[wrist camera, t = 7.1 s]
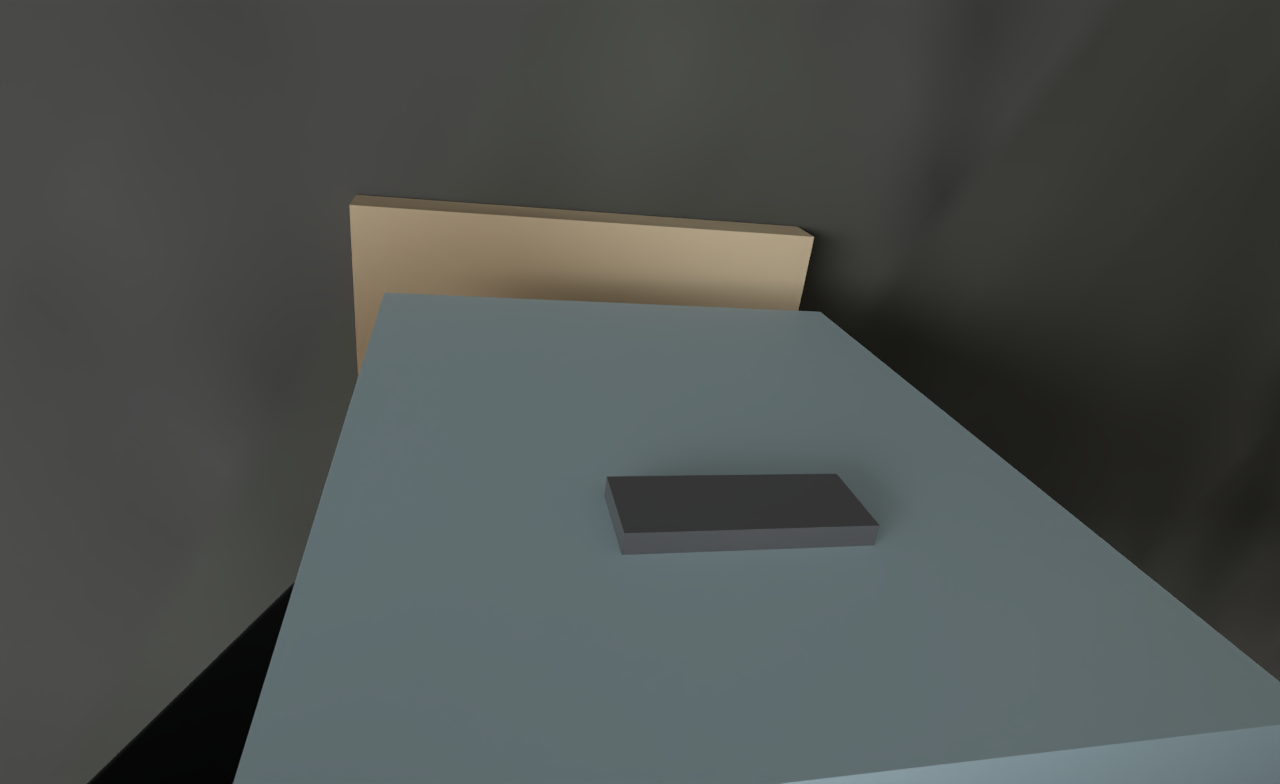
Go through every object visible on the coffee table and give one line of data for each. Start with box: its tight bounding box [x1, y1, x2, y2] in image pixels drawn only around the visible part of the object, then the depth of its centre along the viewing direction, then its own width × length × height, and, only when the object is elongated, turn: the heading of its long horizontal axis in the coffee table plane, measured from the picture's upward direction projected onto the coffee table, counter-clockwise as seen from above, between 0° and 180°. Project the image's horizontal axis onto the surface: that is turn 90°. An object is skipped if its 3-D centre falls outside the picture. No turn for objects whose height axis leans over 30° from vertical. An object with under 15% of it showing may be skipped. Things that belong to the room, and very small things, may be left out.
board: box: [350, 195, 814, 376], centre depth 11 cm, size 6×6×1 cm
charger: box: [233, 293, 1280, 784], centre depth 7 cm, size 7×5×6 cm
